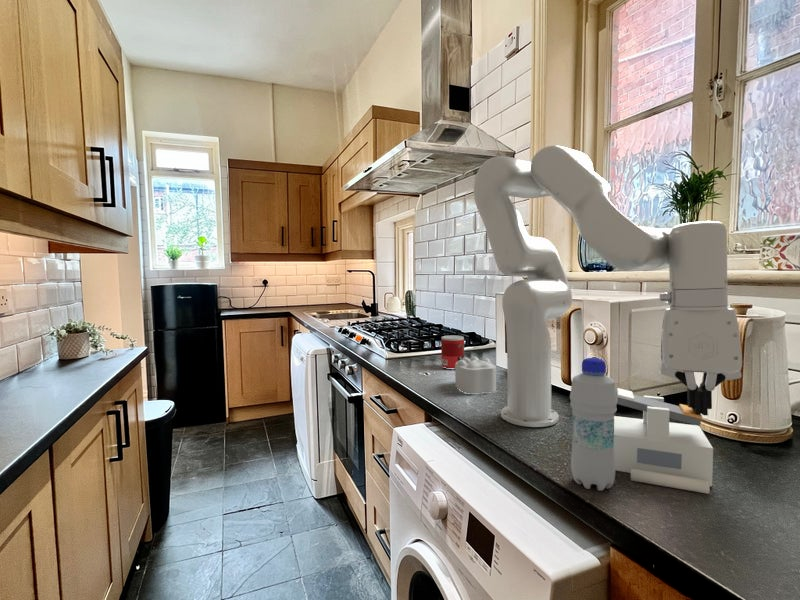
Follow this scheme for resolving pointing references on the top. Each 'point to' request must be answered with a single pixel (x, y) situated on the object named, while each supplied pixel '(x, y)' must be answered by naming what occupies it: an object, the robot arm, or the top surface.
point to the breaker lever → (641, 403)
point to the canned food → (452, 350)
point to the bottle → (593, 425)
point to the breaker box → (662, 445)
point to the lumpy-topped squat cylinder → (475, 375)
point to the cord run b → (670, 481)
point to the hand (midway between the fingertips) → (699, 412)
